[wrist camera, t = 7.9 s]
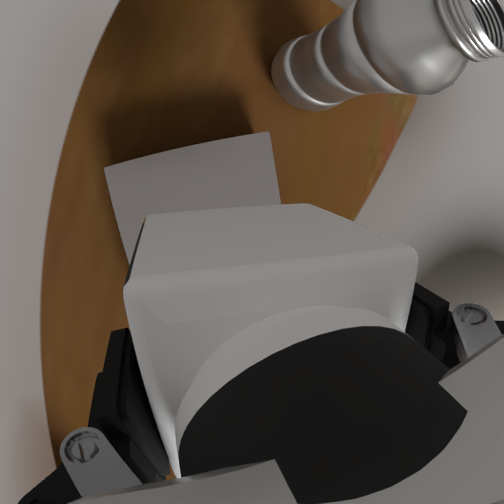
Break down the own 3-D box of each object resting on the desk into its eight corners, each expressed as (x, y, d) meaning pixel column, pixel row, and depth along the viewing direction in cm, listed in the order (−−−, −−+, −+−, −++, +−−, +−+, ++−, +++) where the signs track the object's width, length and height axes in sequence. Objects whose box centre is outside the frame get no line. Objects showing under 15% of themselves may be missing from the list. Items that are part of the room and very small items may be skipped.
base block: (277, 274, 30) (293, 291, 26) (152, 307, 28) (151, 329, 24) (254, 134, 26) (269, 131, 22) (113, 165, 23) (103, 167, 20)
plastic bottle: (301, 34, 24) (470, -60, 5) (344, 91, 26) (537, 62, 8) (248, 69, 24) (408, -49, 5) (296, 128, 26) (502, 118, 8)
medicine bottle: (142, 213, 12) (71, 557, 1) (310, 201, 14) (586, 333, 3) (164, 361, 14) (206, 616, 3) (304, 339, 16) (447, 527, 5)
